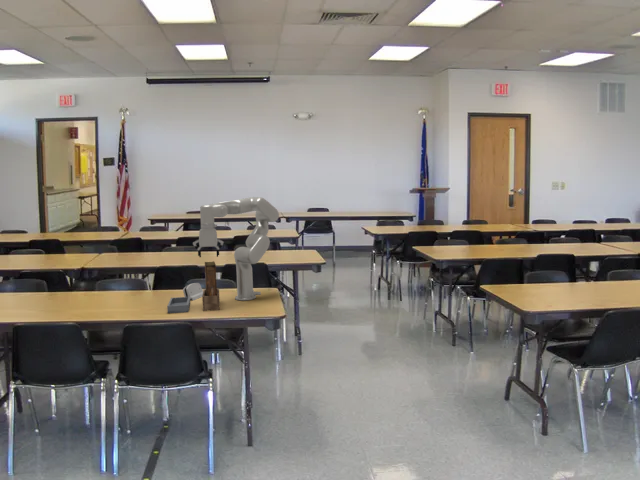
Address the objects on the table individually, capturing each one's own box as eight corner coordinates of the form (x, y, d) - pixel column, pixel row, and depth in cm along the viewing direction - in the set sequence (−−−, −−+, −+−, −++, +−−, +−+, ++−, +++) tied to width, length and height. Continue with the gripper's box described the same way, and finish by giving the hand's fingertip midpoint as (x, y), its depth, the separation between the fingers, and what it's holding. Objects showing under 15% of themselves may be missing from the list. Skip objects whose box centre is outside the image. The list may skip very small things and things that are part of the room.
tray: (190, 303, 324) (190, 296, 323) (188, 312, 302) (187, 305, 302) (171, 304, 322) (170, 297, 321) (167, 313, 300) (167, 306, 300)
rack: (219, 301, 326) (219, 288, 325) (219, 309, 306) (218, 295, 305) (204, 302, 325) (203, 289, 324) (203, 310, 304) (202, 296, 303)
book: (217, 309, 308) (215, 265, 305) (207, 309, 307) (205, 265, 304) (215, 302, 324) (214, 261, 321) (206, 303, 322) (204, 261, 320)
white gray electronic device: (192, 300, 331) (187, 285, 331) (186, 303, 332) (180, 287, 332) (206, 294, 346) (201, 280, 346) (200, 297, 348) (194, 282, 348)
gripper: (223, 225, 315) (224, 255, 317) (192, 226, 312) (193, 256, 314) (223, 226, 308) (224, 257, 309) (191, 227, 305) (192, 258, 306)
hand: (208, 256), depth 312 cm, fingers open, 9 cm apart
